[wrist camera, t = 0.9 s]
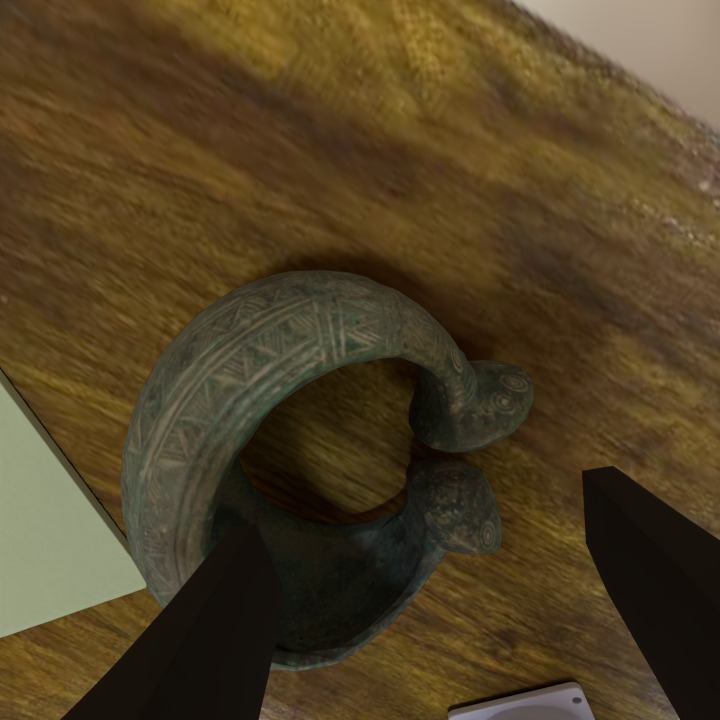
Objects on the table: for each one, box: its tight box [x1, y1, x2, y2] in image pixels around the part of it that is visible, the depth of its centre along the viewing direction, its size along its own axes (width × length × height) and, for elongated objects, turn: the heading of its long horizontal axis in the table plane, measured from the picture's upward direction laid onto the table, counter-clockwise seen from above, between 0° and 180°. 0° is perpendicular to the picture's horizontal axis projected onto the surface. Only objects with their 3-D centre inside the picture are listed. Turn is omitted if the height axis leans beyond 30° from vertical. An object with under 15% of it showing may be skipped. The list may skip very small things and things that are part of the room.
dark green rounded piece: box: [121, 270, 534, 672], centre depth 17 cm, size 15×15×10 cm
